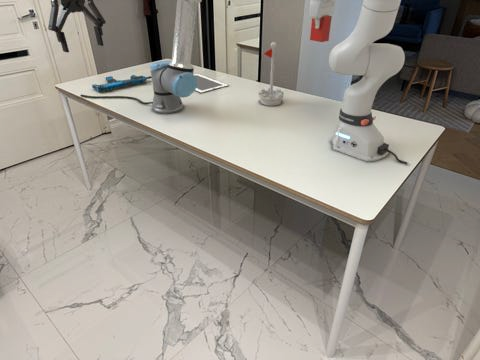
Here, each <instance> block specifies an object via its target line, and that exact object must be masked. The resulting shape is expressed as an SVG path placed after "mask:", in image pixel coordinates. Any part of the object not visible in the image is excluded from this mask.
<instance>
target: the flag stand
mask: <svg viewBox="0 0 480 360" xmlns="http://www.w3.org/2000/svg"><path fill="white" fill-rule="evenodd" d="M277 46H278V45H277V43H276V42H275V41H272V42H271V43H270V49H268V50H267V51H266V52H264V53H263V55H265V56H266V57H269V58H271V59H270V77H269V87H267V89H265V88H261V89H260V90H259V91H258V98H259V99H260V100H259V102H260V104H262V105H264V106H269V107H270V106H271V107H274V106H278V105H280V104H281V103H282V99H284V96H285V95H284V94H285V93H284V91H282V89H280V88H276V89H275V90H274V72H275V58H276V57H275V56H276V55H275V54H276V48H277Z"/></svg>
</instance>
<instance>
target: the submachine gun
mask: <svg viewBox="0 0 480 360" xmlns="http://www.w3.org/2000/svg"><path fill="white" fill-rule="evenodd" d="M150 79H152V76H151V75H148V76H145V75H135V74H132V75H131V76H130V78H128V79H123V80H117V79H115V78H114V77H113V76H111V75H110V76H106V77H105V81H107V82H106V83H102V84H91V87H92V89H93V90H95V91H96V92H98V93H99V92H100V93H101V92H104V91H106V92H108V91H109V92H112V90H115V89H119V88H124V87H128V86H133V85H138V84H144V83H145V82H147V80H150Z"/></svg>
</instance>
